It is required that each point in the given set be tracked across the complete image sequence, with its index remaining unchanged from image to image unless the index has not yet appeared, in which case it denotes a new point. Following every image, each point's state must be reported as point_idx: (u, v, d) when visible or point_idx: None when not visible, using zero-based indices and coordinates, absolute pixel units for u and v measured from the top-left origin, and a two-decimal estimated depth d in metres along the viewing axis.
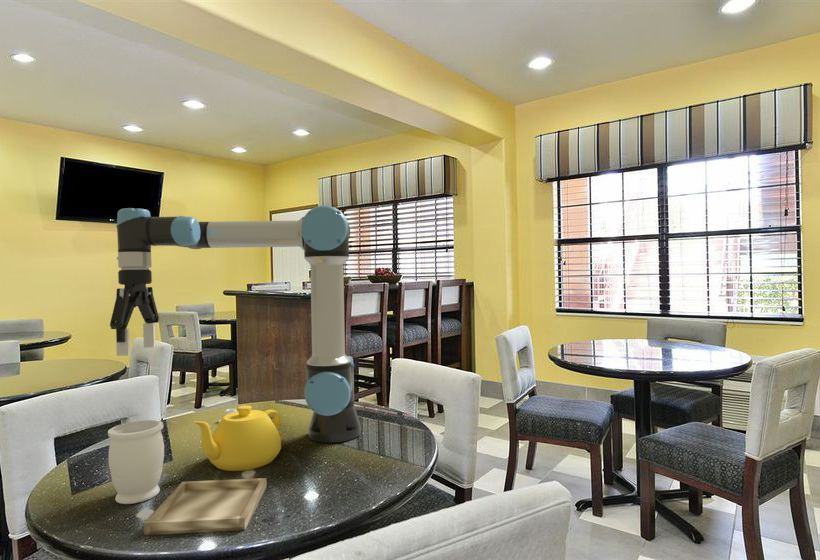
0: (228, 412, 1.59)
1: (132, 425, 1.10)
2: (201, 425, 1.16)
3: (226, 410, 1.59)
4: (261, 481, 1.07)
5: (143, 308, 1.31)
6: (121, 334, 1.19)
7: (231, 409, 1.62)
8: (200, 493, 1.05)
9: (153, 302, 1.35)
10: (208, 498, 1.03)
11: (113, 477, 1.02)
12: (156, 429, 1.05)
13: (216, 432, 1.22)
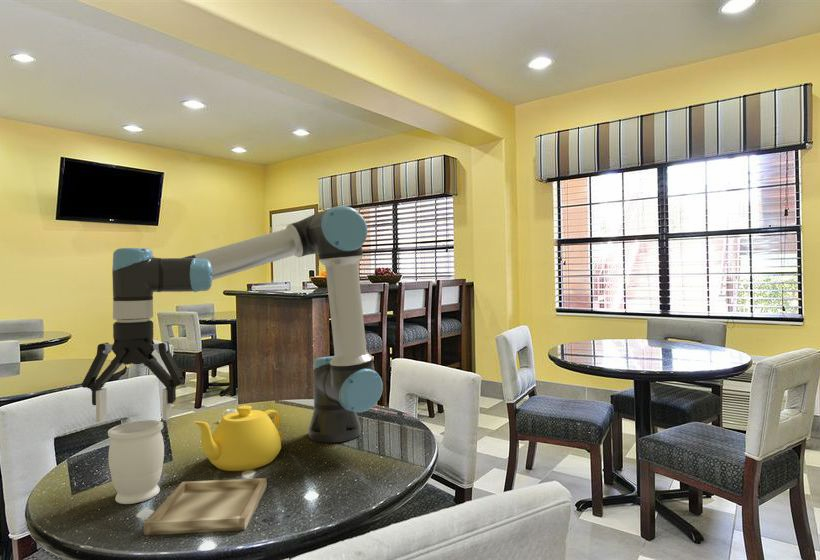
0: (228, 412, 1.59)
1: (132, 425, 1.10)
2: (201, 425, 1.16)
3: (226, 410, 1.59)
4: (261, 481, 1.07)
5: None
6: None
7: (231, 409, 1.62)
8: (200, 493, 1.05)
9: (166, 362, 1.05)
10: (208, 498, 1.03)
11: (113, 477, 1.02)
12: (156, 429, 1.05)
13: (216, 432, 1.22)
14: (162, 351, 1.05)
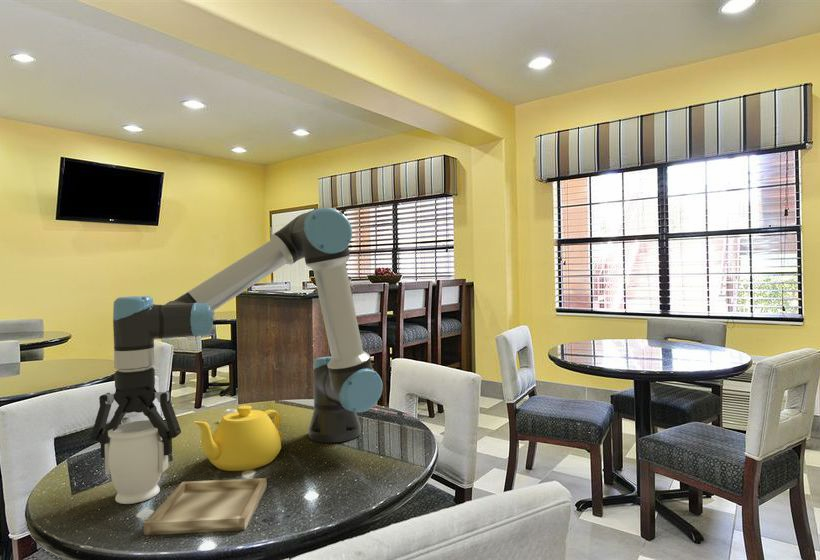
0: (228, 412, 1.59)
1: (132, 425, 1.10)
2: (201, 425, 1.16)
3: (226, 410, 1.59)
4: (261, 481, 1.07)
5: None
6: None
7: (231, 409, 1.62)
8: (200, 493, 1.05)
9: (165, 413, 1.05)
10: (208, 498, 1.03)
11: (113, 477, 1.02)
12: (156, 429, 1.05)
13: (216, 432, 1.22)
14: (163, 401, 1.05)
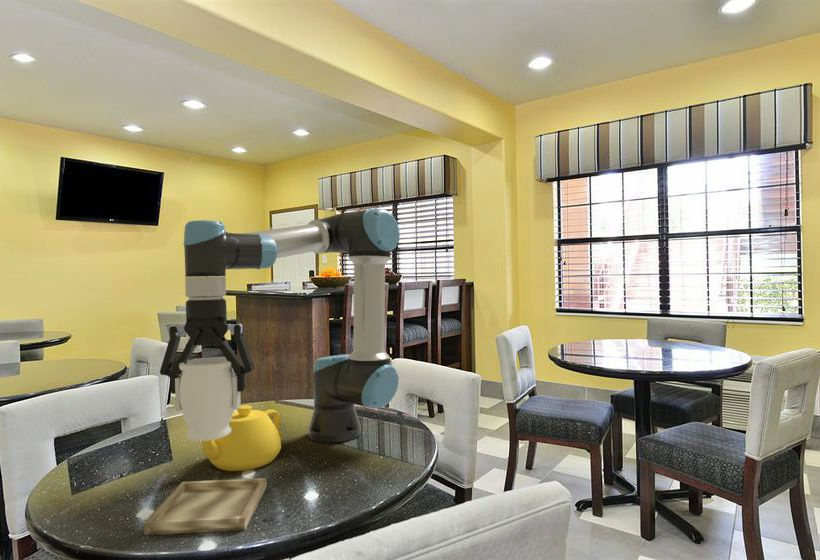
0: None
1: (200, 362, 1.03)
2: None
3: None
4: (261, 481, 1.07)
5: None
6: None
7: None
8: (200, 493, 1.05)
9: (239, 346, 0.98)
10: (208, 498, 1.03)
11: (185, 412, 0.95)
12: (229, 363, 0.98)
13: None
14: (237, 333, 0.98)
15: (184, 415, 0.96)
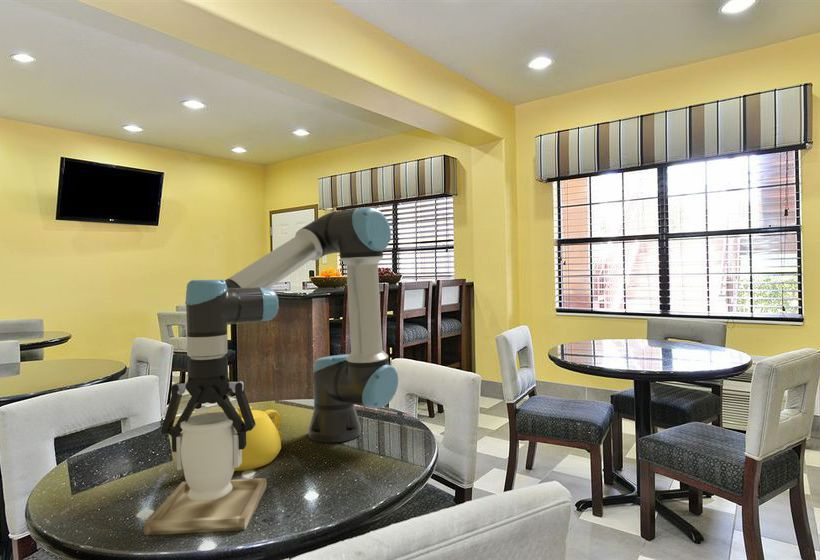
0: None
1: (202, 417, 1.03)
2: None
3: None
4: (261, 481, 1.07)
5: None
6: None
7: None
8: None
9: (240, 404, 0.98)
10: None
11: (187, 472, 0.95)
12: (231, 421, 0.98)
13: None
14: (238, 392, 0.98)
15: (185, 475, 0.96)
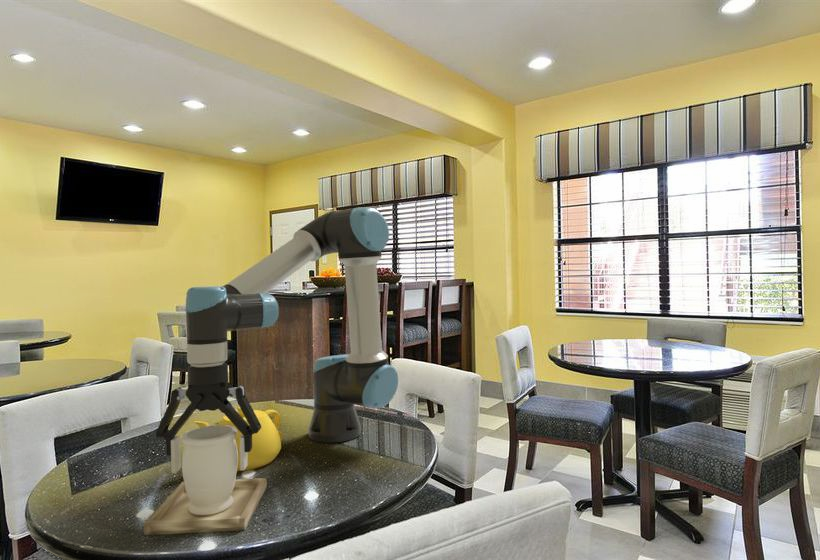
0: None
1: (203, 430, 1.03)
2: (201, 425, 1.16)
3: None
4: (261, 481, 1.07)
5: None
6: None
7: None
8: None
9: (243, 409, 0.98)
10: None
11: (188, 486, 0.95)
12: (232, 435, 0.98)
13: None
14: (239, 396, 0.98)
15: (186, 489, 0.96)
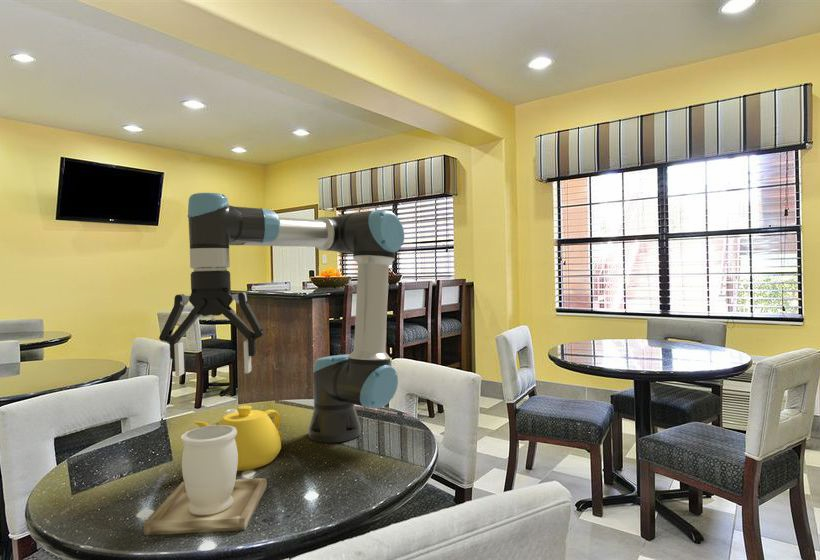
0: None
1: (202, 430, 1.03)
2: (201, 425, 1.16)
3: (227, 411, 1.59)
4: (261, 481, 1.07)
5: None
6: None
7: (232, 410, 1.61)
8: None
9: (246, 313, 1.00)
10: None
11: (188, 486, 0.95)
12: (232, 435, 0.98)
13: None
14: (242, 301, 1.00)
15: (186, 489, 0.96)
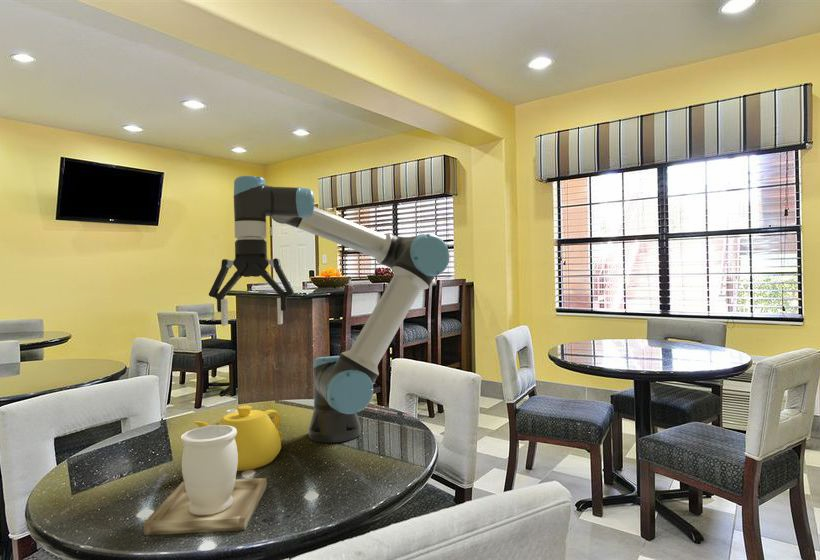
0: None
1: (202, 430, 1.03)
2: (201, 425, 1.16)
3: (227, 411, 1.59)
4: (261, 481, 1.07)
5: None
6: None
7: (232, 410, 1.61)
8: None
9: (279, 275, 1.22)
10: None
11: (188, 486, 0.95)
12: (232, 435, 0.98)
13: None
14: (276, 265, 1.22)
15: (186, 489, 0.96)
